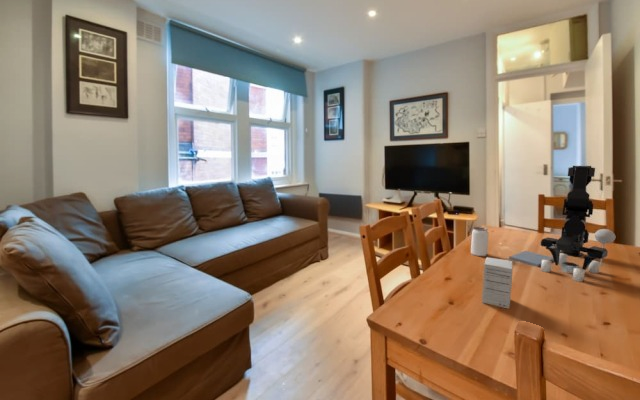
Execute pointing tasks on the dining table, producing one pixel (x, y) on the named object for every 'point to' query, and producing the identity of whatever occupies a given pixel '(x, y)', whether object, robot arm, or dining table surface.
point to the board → (530, 258)
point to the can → (479, 241)
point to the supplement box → (497, 282)
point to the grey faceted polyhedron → (568, 267)
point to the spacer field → (578, 272)
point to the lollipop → (604, 237)
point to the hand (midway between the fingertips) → (569, 268)
